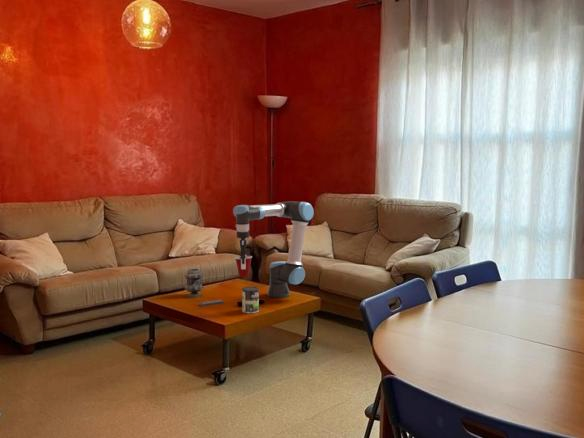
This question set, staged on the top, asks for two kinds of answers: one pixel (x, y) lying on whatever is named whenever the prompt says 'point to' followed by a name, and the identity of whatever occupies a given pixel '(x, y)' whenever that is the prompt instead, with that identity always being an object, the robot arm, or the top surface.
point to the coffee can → (250, 299)
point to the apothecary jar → (193, 282)
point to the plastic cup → (246, 271)
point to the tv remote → (211, 303)
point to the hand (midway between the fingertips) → (243, 267)
